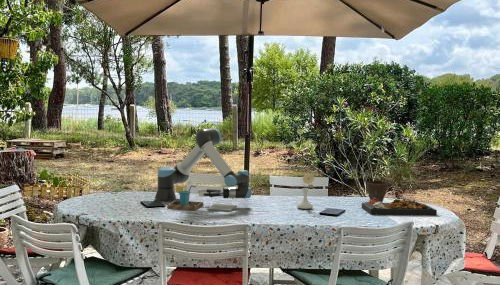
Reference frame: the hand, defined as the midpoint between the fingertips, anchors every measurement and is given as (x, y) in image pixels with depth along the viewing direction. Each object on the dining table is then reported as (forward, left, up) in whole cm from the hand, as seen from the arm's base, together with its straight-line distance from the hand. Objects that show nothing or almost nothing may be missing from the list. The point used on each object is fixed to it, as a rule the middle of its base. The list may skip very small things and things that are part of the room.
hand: (198, 192), depth 427 cm
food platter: (+135, +28, -10) cm, 139 cm away
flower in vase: (+73, +17, -10) cm, 75 cm away
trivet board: (+18, -1, -10) cm, 20 cm away
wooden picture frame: (-7, -4, -10) cm, 13 cm away
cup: (-7, -4, -10) cm, 13 cm away
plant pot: (+121, +54, -10) cm, 133 cm away
